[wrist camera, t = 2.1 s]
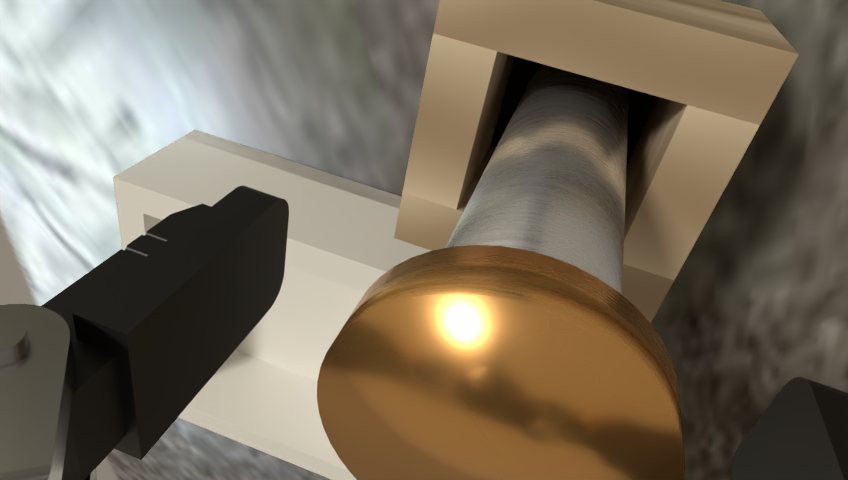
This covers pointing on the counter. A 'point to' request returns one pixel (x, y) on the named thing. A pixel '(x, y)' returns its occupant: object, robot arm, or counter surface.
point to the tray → (300, 292)
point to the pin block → (617, 64)
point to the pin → (515, 323)
